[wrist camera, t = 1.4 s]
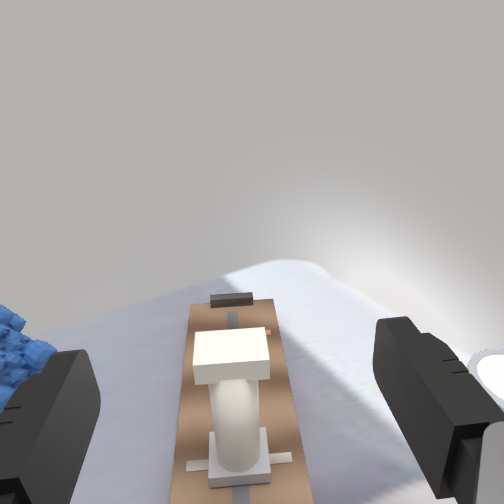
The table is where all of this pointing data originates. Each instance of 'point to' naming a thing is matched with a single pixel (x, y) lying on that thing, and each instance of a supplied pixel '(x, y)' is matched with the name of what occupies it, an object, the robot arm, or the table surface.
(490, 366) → the white cylinder
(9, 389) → the grapes
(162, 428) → the table surface
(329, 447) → the table surface
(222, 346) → the fader
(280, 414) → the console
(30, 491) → the robot arm
